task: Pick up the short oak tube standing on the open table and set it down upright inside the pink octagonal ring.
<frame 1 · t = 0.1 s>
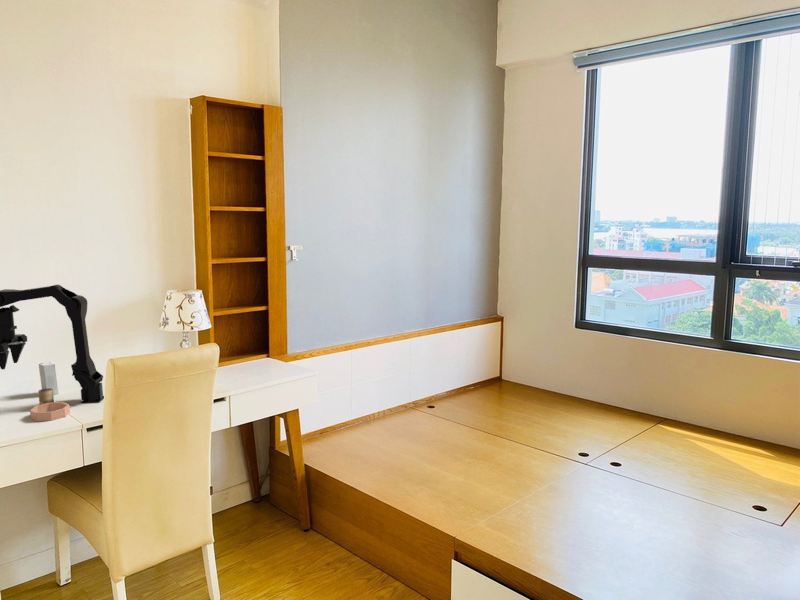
hand: (9, 366, 232), 15 cm above the table, fingers open, 9 cm apart
pink octagonal ring: (50, 415, 221), on the table
oak tube: (47, 407, 230), on the table
skincare box: (50, 394, 247), on the table
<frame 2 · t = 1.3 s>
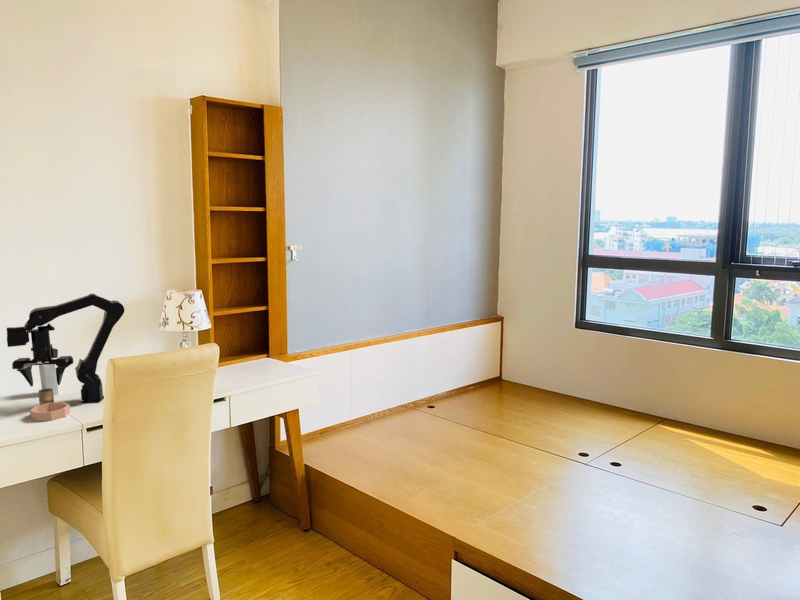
hand: (45, 385, 229), 8 cm above the table, fingers open, 9 cm apart
nothing on the table moved.
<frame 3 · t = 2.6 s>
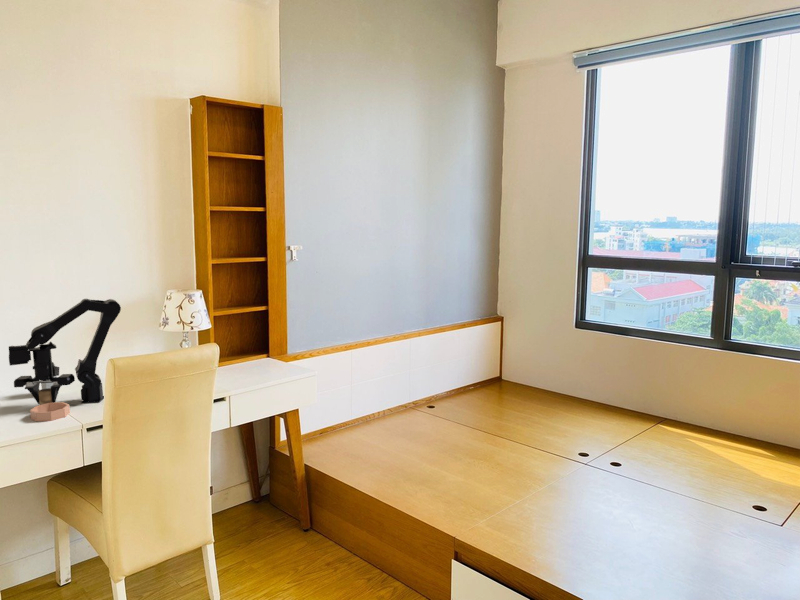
hand: (46, 403, 230), 2 cm above the table, fingers closed on oak tube, 5 cm apart
oak tube: (47, 407, 230), on the table, touching gripper
everything else where it was.
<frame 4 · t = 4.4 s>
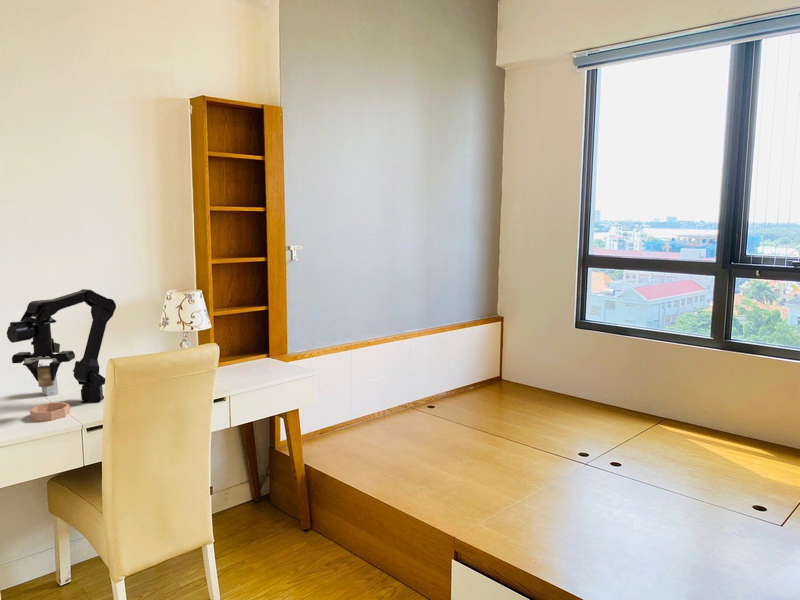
hand: (45, 380, 220), 12 cm above the table, fingers closed on oak tube, 5 cm apart
oak tube: (46, 385, 221), point 11 cm above the table, touching gripper
everything else where it was.
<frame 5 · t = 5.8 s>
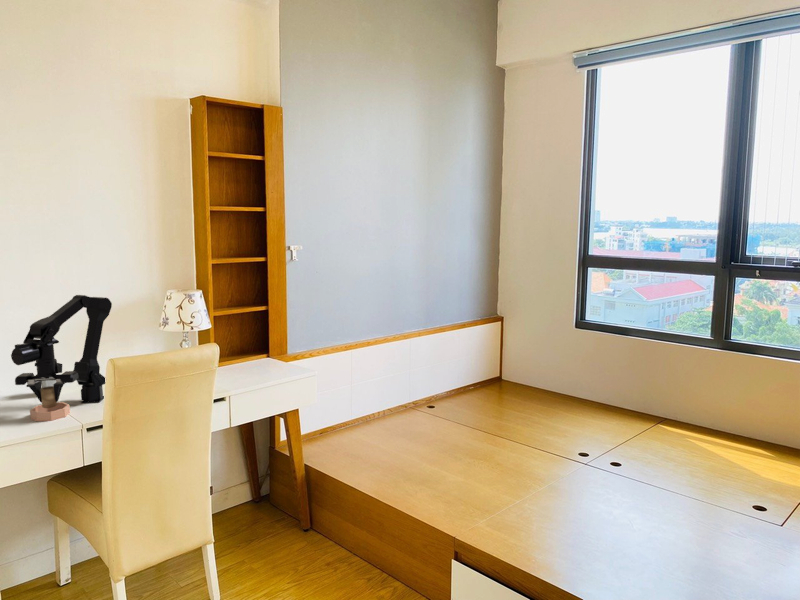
hand: (49, 401, 220), 5 cm above the table, fingers closed on oak tube, 5 cm apart
oak tube: (49, 405, 220), point 3 cm above the table, touching gripper
everything else where it was.
when the fingers open (3 cm above the table, at t = 6.5 s): oak tube drops 2 cm, resting in pink octagonal ring.
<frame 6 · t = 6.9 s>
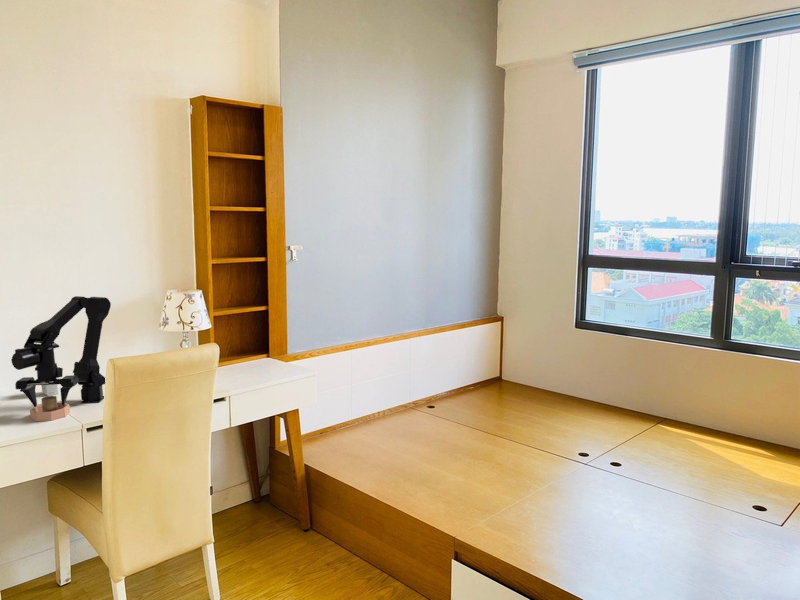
hand: (49, 406, 220), 3 cm above the table, fingers open, 9 cm apart
oak tube: (50, 415, 221), resting in pink octagonal ring
everything else where it was.
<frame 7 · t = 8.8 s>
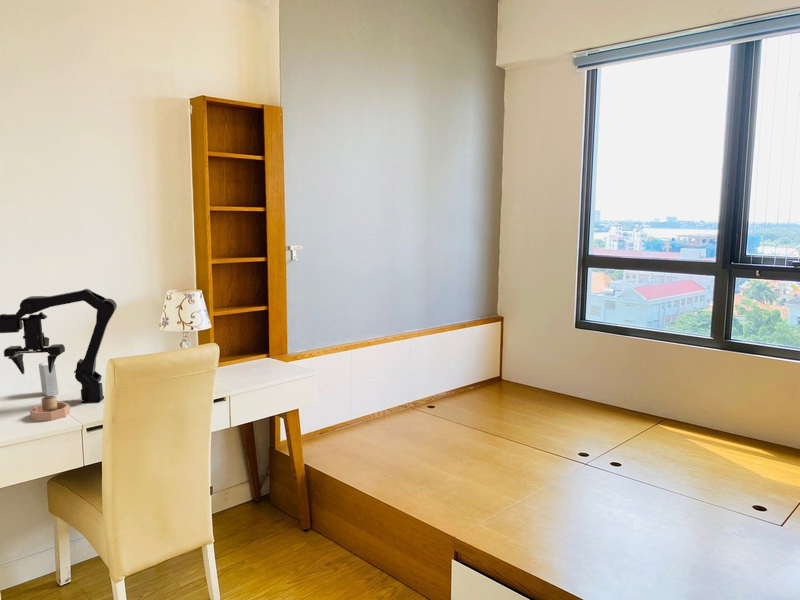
hand: (36, 373, 231), 12 cm above the table, fingers open, 9 cm apart
nothing on the table moved.
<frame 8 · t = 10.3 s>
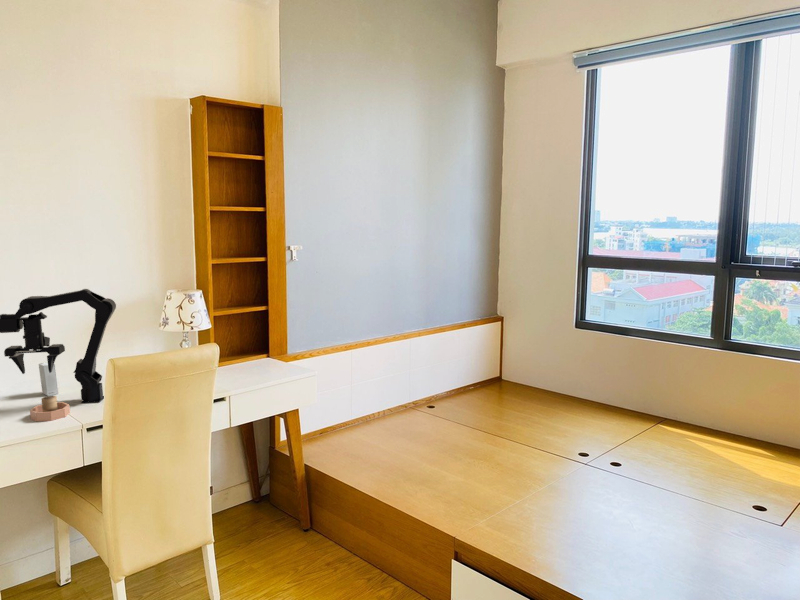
hand: (37, 373, 231), 12 cm above the table, fingers open, 9 cm apart
nothing on the table moved.
at the end: oak tube 0.0 cm from the pink octagonal ring (horizontally); oak tube tilted 0°; the gripper is holding nothing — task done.
